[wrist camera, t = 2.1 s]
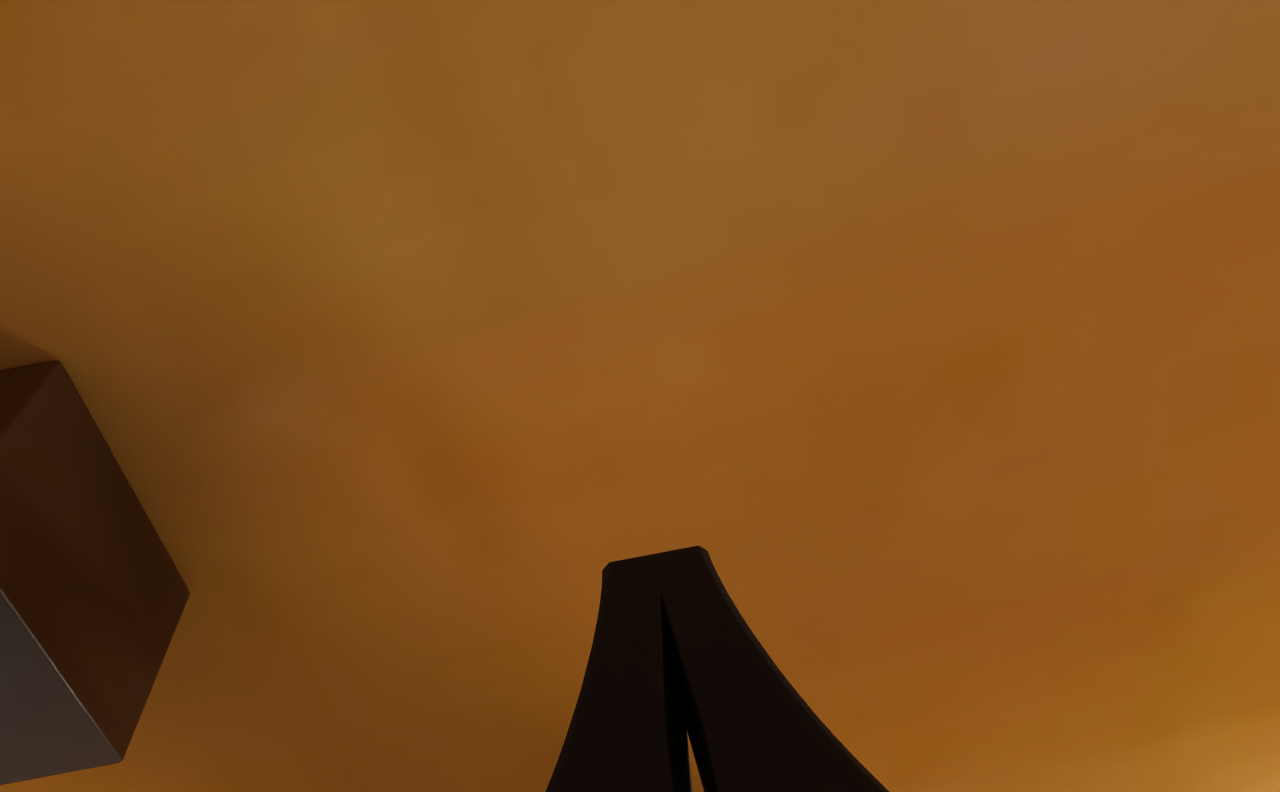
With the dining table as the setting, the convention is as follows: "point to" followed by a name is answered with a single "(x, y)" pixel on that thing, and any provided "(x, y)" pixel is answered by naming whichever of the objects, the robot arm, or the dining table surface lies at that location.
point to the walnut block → (72, 585)
